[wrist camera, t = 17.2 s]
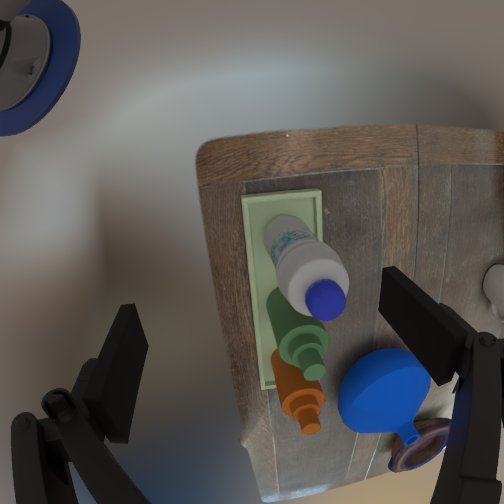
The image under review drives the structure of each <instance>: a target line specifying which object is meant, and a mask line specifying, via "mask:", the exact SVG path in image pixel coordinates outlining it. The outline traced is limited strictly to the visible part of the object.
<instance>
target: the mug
mask: <svg viewBox="0 0 504 504" xmlns="http://www.w3.org/2000/svg"><path fill="white" fill-rule="evenodd" d="M483 289H484V292H485V294H486V296H487V297H488V298H489V300H490V301H491V302H492V312H493V314H494V316H495V318H496V319H497V320H498V321H500V322H504V317H503V316H502V315H501V314H500V313H499V310H500V311H502V312H503V313H504V265H494V266H492V267H491V268H490V269H489V270H488V272H487V273H486V275H485V278H484V282H483ZM498 309H499V310H498Z"/></svg>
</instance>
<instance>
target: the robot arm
mask: <svg viewBox="0 0 504 504" xmlns="http://www.w3.org/2000/svg"><path fill="white" fill-rule="evenodd" d="M31 1H32V0H0V111H8V110H11V109H13V108H16V107H17V106H19V105H20V104H22V103H23V102H24V101H26V100H27V99H28V98H29V97H30V96H31V95H32V93H33V92H34V91H35V90H36V88H37V87H38V86H39V84H40V83H41V81H42V79H43V77H44V75H45V73H46V71H47V69H48V66H49V64H50V60H51V56H52V51H53V36H52V32H51V29H50V27H49V26H48V24H47V23H46V22H45V21H43V20H42V19H40V18H38V17H36V16H34V15H27V14H24V15H18V14H19V13H20V12H21V11H22V10H23V9H24V8H25V7H26V6H27V5H28V4H29V3H30V2H31ZM378 311H379V312H380V313H381V315H382V316H383V317H384V318H385V319H386V321H387V322H388V323H389V324H390V326H391V327H392V328H393V329H394V330H395V332H396V333H397V334H398V335H399V337H400V338H401V339H402V340H403V342H404V343H405V344H406V345H407V347H408V348H409V349H410V350H411V352H412V353H413V354H414V355H415V357H416V358H417V359H418V361H419V362H420V363H421V364H422V366H423V367H424V368H425V370H426V371H427V372H428V373H429V375H430V376H431V377H432V379H433V380H434V381H435V383H436V384H437V385H438V386H441V385H443V384H446V383H448V382H450V381H451V380H452V378H453V375H454V373H455V371H456V373H457V374H458V375H459V378H458V380H457V383H456V385H455V387H454V390H453V392H452V393H453V394H454V393H455V391H456V394H455V401H454V407H453V414H452V419H451V425H450V430H449V435H448V440H447V444H446V450H445V453H444V457H443V461H442V465H441V469H440V473H439V476H438V480H437V483H436V486H435V490H434V493H433V496H432V499H431V502H430V504H499V502H500V496H501V491H502V483H501V481H498V480H497V479H496V473H497V466H498V457H499V449H500V435H501V418H502V422H503V428H504V339H497V338H496V337H495V336H494V335H492V334H491V333H488V332H479V333H478V332H477V331H476V330H475V329H474V328H472V327H471V326H470V325H469V324H468V323H467V322H466V321H465V320H464V319H463V318H462V319H461V317H460V316H459V315H458V314H456V312H455V311H454V310H453V309H452V308H450V307H449V306H447V305H445V304H443V303H439V304H438V303H437V302H435V301H434V300H433V299H432V298H431V297H430V296H429V295H428V294H426V293H425V292H424V291H423V290H422V289H421V288H420V287H418V286H417V285H416V284H415V283H414V282H413V281H412V280H410V279H409V278H408V277H407V276H406V275H405V274H403V273H402V272H401V271H400V270H399V269H397V268H396V267H395V266H391V267H386V268H383V271H382V282H381V292H380V301H379V309H378ZM147 350H148V343H147V340H146V337H145V334H144V331H143V328H142V325H141V322H140V319H139V316H138V313H137V309H136V306H135V304H126V305H121V306H120V309H119V311H118V313H117V315H116V317H115V319H114V322H113V324H112V326H111V328H110V331H109V333H108V335H107V338H106V340H105V342H104V345H103V347H102V349H101V352H100V354H99V356H98V358H94V359H93V358H91V359H89V360H88V361H87V362H86V363H85V364H84V365H83V366H82V368H81V371H80V373H79V376H78V377H77V380H76V382H75V384H74V387H73V389H72V392H71V394H70V393H69V392H68V391H67V390H66V389H63V388H58V389H54V390H51V391H50V392H48V393H47V394H46V395H45V396H44V398H43V399H42V402H41V405H42V408H43V410H44V411H45V413H46V414H47V415H48V417H49V418H44V419H38V420H37V418H36V417H35V416H34V415H33V414H32V413H29V412H23V413H21V414H19V415H17V416H16V417H15V418H14V420H13V421H12V425H11V452H12V469H13V480H14V490H15V498H16V504H79V503H78V500H77V496H76V493H75V489H74V485H73V482H72V477H71V473H70V469H69V465H68V462H73V464H74V466H75V468H76V470H77V471H78V473H79V475H80V477H81V478H82V480H83V482H84V483H85V485H86V487H87V488H88V490H89V492H90V493H91V495H92V496H93V498H94V499H95V501H96V502H97V504H151V503H150V502H149V501H148V499H147V498H146V497H145V496H144V495H143V494H142V492H141V491H140V490H139V489H138V488H137V486H136V485H135V484H134V483H133V482H132V480H131V479H130V478H129V476H128V475H127V474H126V473H125V471H124V470H123V469H122V468H121V466H120V465H119V463H118V462H117V461H116V459H115V458H114V457H113V456H112V454H111V453H110V451H109V450H108V448H107V447H106V446H105V445H104V443H103V442H104V438H105V435H106V437H107V438H108V440H109V441H110V442H111V443H124V444H127V443H128V439H129V434H130V428H131V423H132V418H133V413H134V408H135V403H136V398H137V394H138V389H139V385H140V380H141V376H142V371H143V367H144V362H145V358H146V354H147Z"/></svg>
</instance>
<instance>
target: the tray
mask: <svg viewBox="0 0 504 504" xmlns="http://www.w3.org/2000/svg"><path fill="white" fill-rule="evenodd" d="M321 196H322V195H321V190H319V189H317V188H313V189H301V190H289V191H278V192H268V193H258V194H249V195H241V205H242V215H243V225H244V235H245V244H246V254H247V264H248V274H249V283H250V293H251V302H252V312H253V321H254V331H255V340H256V350H257V359H258V368H259V378H260V385H261V390H264V389H271V388H277V387H276V382H275V378H274V374H273V370H272V366H271V361H270V359H271V355H272V353H273V352H274V351H275V350H276V349H277V348H278V347H277V344H276V340H275V337H274V333H273V329H272V326H271V322H270V319H269V315H268V312H267V308H266V302H267V298H268V296H269V295H270V293H271V292H272V291H273V290H274V289H276V288H277V287H279V286H278V282H277V279H276V269H275V266H274V264H273V262H272V260H271V258H270V257H269V255H268V253H267V251H266V249H265V247H264V242H263V239H264V232H265V228H266V226H267V225H268V224H269V223H271V222H272V221H273V220H274V219H275V218H276V217H278V216H281V215H288V216H296V217H298V218H300V219H301V220H302V221H303V222H305V224H306V225H307V226H308V227H309V229H310V230H311V232H312V233H313V234H314V235H315V236H316V237H317V239H318V240H319V241H321V242H323V233H322V197H321ZM320 321H321V320H320ZM321 323H322V321H321ZM318 380H319V379H318Z"/></svg>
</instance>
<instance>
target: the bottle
mask: <svg viewBox="0 0 504 504" xmlns="http://www.w3.org/2000/svg"><path fill="white" fill-rule="evenodd" d="M263 242H264V247H265V249H266V251H267V253H268V255H269V257H270V258H271V260H272V262H273V264H274V266H275V269H276V279H277V282H278V286H279V289H280V291H281V293H282V294H283V295H284V296H285V297H286V299H287V300H288V301H289V303H290V304H291V306H292V307H293V308H294V309H295V310H296V311H298V312H299V313H301V314H304V315H306V316H313V317H314V318H316V319H318V320H321V321H328V320H332V319H334V318H336V317H338V316H339V315H340V314H341V313H342V311H343V310H344V308H345V304H346V295H347V292H348V288H349V278H348V274H347V271H346V270H345V268H344V266H343V264H342V262H341V260H340V258H339V256H338V254H337V253H336V252H335V251H334V250H333V249H332V248H330V247H329V246H328V245H327V244H325V243H324V242H321V241H319V240H318V239H317V237H316V236H315V235H314V234H313V233H312V232H311V230H310V229H309V227H308V226H307V225H306V224H305V222H303V221H302V220H301V219H300V218H298V217H296V216H288V215H281V216H278V217H276V218H275V219H274V220H273V221H272V222H271V223H269V224H268V225H267V226H266V228H265V232H264V239H263Z"/></svg>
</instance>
